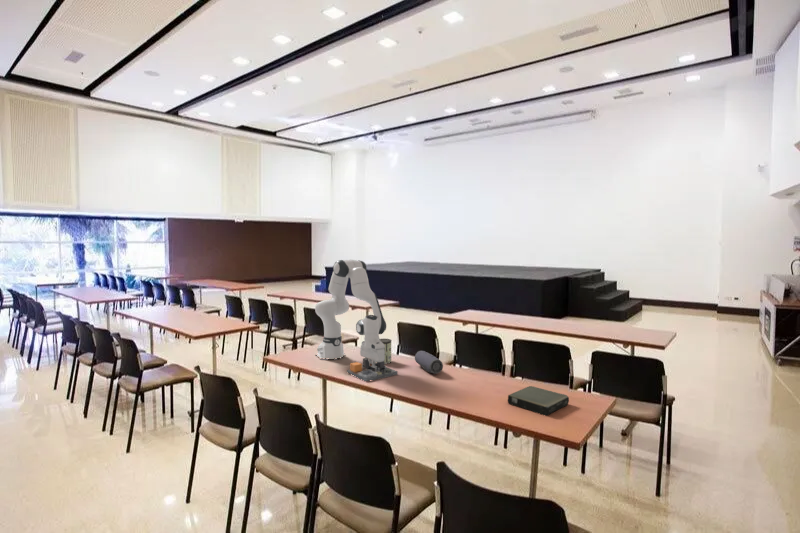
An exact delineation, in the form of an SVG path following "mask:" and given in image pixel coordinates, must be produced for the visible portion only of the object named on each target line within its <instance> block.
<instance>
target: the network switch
mask: <svg viewBox="0 0 800 533" xmlns="http://www.w3.org/2000/svg"><path fill="white" fill-rule="evenodd" d="M569 402H570V398H569V396H568V395H567V394H564V393H559V392H557V391H552V390H548V389H544V388H540V387H536V386H533V385H529V386H526V387H525V388H522V389H520V390H517V391H515V392H511V393H510V394H508V395H507V404H508V405H511V406H515V407H518V408H522V409H525V410H529V411H532V412H533V413H537V414H539V413H540V414H539V415H542V414H543V415H542V416H544V415H545V417H546V416H549V415H551V414H553V413H554V412H557V411H558V410H560V409H562V408H563V407H567V406H568V404H569Z"/></svg>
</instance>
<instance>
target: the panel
mask: <svg viewBox="0 0 800 533" xmlns="http://www.w3.org/2000/svg"><path fill="white" fill-rule="evenodd" d="M347 372H348V373H350V374H352V375H354V376H356V377H358V378H360V379H359V380H361V379H362V380H361V381H363V380H364V381H363V382H365V381H369V382H371V381H370V380H373V381H377V380H381V379H385V378H388V377H393V376H397V375H398V370H395V369H392V368H389V367H387V365H386V364H384V368H381V369H380V367H377V363H376V362H375V367H371V366H370V368H368V369H367V368H365V367H363V365H362V371H358V372H353V371H351V370H350V369H347V370H346V373H347ZM354 376H353V377H354ZM356 377H355V378H356ZM358 378H357V379H358ZM380 378H381V379H380ZM376 379H377V380H376Z"/></svg>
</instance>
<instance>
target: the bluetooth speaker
mask: <svg viewBox="0 0 800 533" xmlns="http://www.w3.org/2000/svg"><path fill="white" fill-rule="evenodd" d="M414 360H415V362H416V363H417V364H418V365H419V366H420V367H422V368H423V370H424V371H426V372H428V373H430V374H434V375H435V374H439V373H441V372H442V371H443V368H444V364H443V361H441V360H440V359H439V358H437V357H436V356H435V355H433V354H431V353H429V352H426V351H425V350H418V351H417V352H416V353H415V355H414Z"/></svg>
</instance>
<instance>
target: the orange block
mask: <svg viewBox="0 0 800 533" xmlns="http://www.w3.org/2000/svg"><path fill="white" fill-rule="evenodd" d="M362 366H363V363H360V362H359V361H357V362H351V363H349V370H351V371H353V372H358V371H362Z"/></svg>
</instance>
